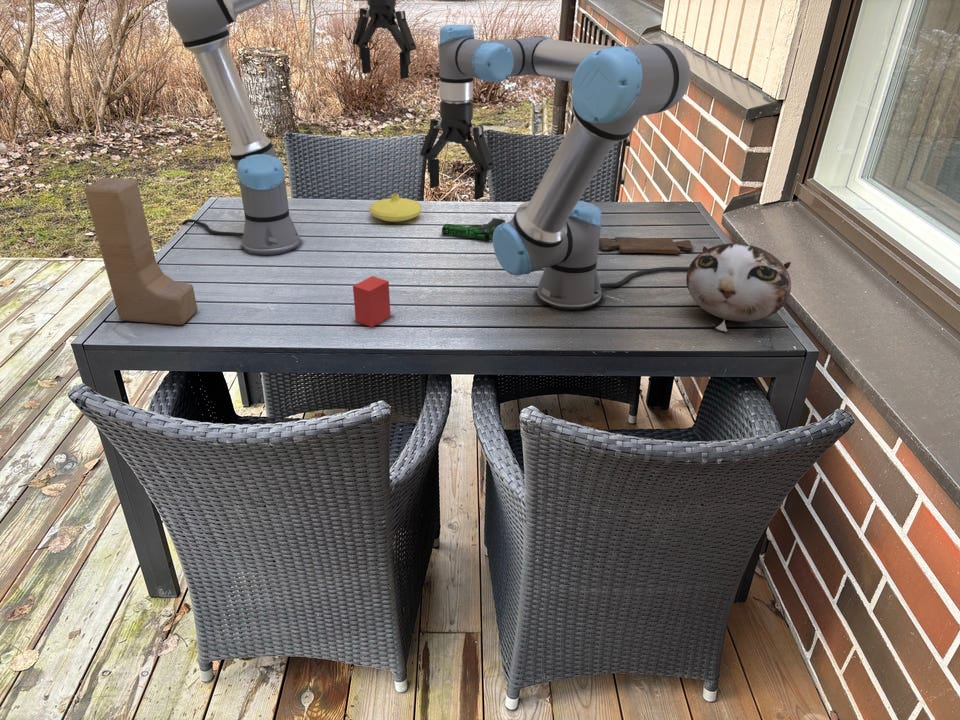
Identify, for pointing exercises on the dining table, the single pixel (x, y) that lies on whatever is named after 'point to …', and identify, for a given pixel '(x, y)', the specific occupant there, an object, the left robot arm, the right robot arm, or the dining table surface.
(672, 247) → the dark wooden board
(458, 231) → the handgun
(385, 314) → the block
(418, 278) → the dining table surface
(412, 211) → the yellow lid
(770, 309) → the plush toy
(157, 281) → the brown l-shaped piece
